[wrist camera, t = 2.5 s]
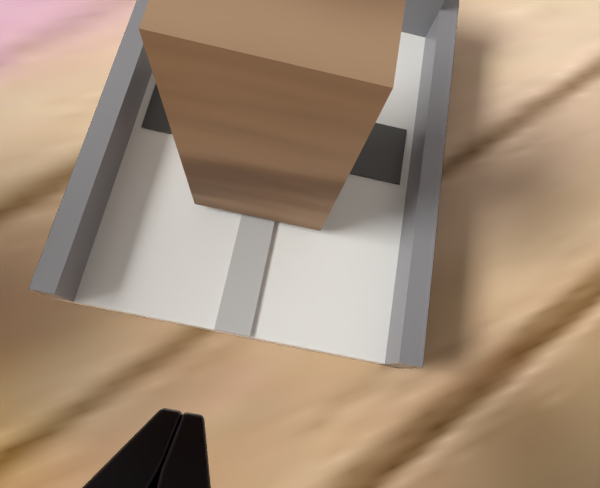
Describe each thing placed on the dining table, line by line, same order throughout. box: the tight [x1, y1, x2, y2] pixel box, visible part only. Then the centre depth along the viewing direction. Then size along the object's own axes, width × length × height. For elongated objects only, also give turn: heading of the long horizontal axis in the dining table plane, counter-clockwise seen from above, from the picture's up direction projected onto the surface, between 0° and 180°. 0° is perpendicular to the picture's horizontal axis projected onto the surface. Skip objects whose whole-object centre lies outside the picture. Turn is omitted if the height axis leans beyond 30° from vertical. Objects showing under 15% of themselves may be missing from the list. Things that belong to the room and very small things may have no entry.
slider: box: [139, 0, 406, 231], centre depth 16 cm, size 5×6×11 cm
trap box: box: [29, 0, 459, 368], centre depth 21 cm, size 19×16×5 cm
